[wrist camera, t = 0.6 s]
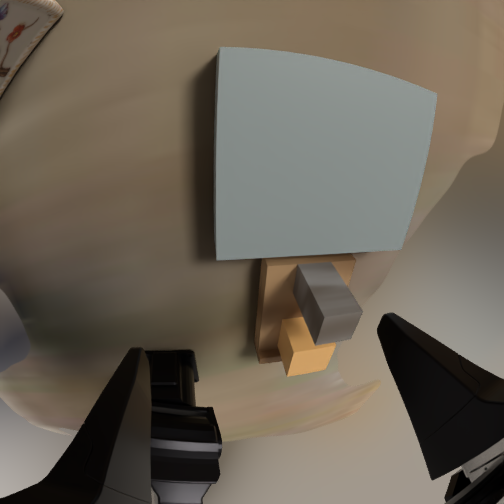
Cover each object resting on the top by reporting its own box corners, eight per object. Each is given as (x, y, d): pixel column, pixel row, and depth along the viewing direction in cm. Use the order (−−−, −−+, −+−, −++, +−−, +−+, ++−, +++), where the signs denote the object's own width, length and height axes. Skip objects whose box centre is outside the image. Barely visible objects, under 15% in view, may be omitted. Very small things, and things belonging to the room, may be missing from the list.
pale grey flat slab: (384, 233, 25) (401, 249, 22) (214, 238, 22) (216, 260, 20) (413, 89, 17) (437, 93, 15) (217, 53, 14) (220, 46, 12)
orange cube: (313, 340, 28) (325, 369, 25) (277, 345, 28) (286, 376, 25) (321, 314, 26) (336, 345, 23) (282, 319, 26) (293, 352, 22)
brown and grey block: (320, 332, 32) (344, 389, 25) (253, 341, 30) (269, 404, 23) (345, 246, 25) (390, 306, 18) (261, 250, 24) (288, 322, 17)
